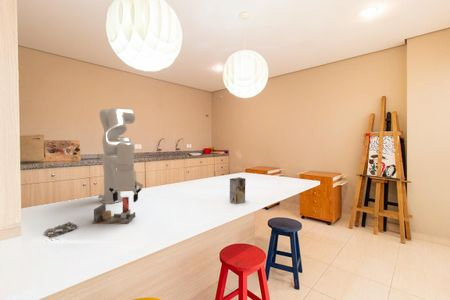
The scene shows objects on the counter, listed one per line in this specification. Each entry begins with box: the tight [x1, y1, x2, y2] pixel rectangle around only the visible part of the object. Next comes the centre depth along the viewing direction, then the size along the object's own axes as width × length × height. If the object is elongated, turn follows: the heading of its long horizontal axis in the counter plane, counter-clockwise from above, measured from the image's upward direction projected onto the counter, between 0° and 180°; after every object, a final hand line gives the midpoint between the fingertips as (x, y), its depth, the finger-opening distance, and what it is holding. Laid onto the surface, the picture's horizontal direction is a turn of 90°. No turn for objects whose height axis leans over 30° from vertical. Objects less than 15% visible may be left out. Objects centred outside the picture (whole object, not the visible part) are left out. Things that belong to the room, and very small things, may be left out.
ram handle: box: [120, 196, 132, 219], centre depth 106 cm, size 3×5×11 cm, turn 2°
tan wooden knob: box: [102, 209, 112, 221], centre depth 106 cm, size 4×4×4 cm
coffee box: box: [229, 177, 246, 205], centre depth 144 cm, size 9×6×16 cm
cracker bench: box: [91, 203, 137, 225], centre depth 106 cm, size 17×10×8 cm, turn 92°
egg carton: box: [43, 221, 79, 238], centre depth 92 cm, size 11×8×4 cm
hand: (125, 201), depth 106 cm, fingers open, 9 cm apart
